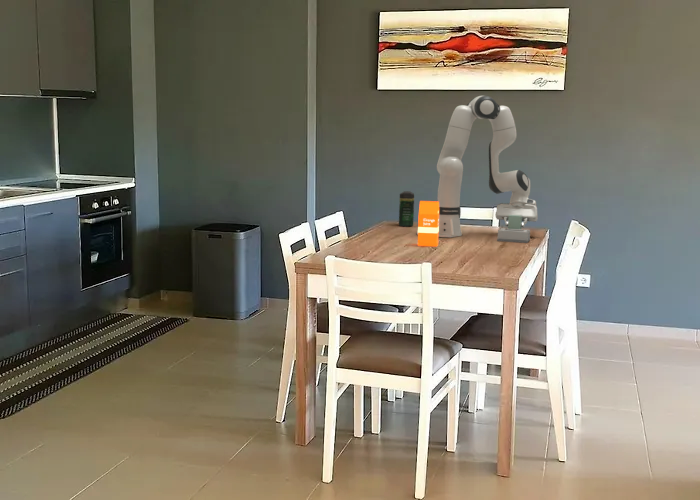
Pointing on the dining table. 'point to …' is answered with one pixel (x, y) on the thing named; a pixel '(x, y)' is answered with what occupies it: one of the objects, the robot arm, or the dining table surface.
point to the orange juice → (428, 223)
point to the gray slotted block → (513, 235)
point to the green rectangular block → (514, 222)
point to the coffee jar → (406, 209)
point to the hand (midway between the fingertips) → (514, 226)
